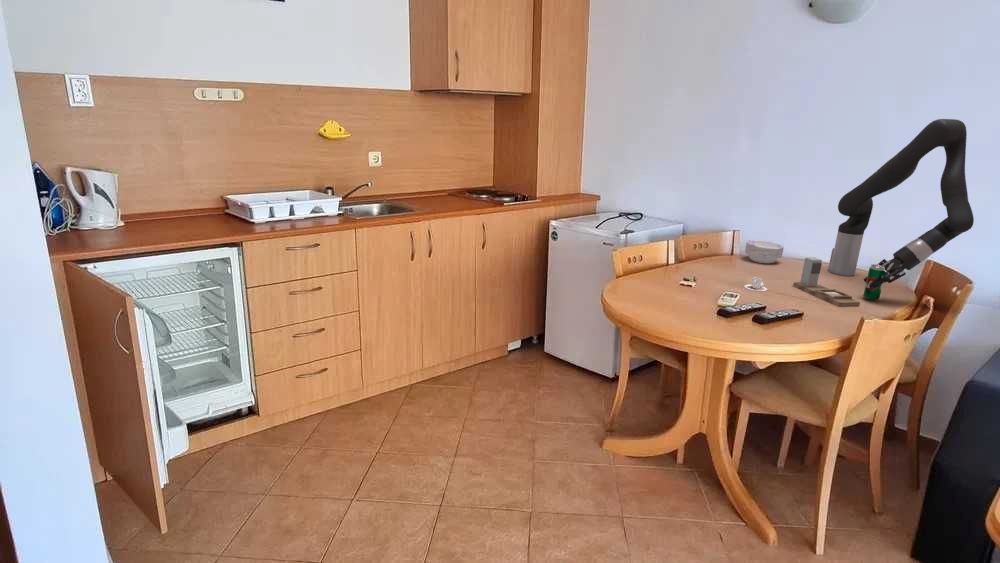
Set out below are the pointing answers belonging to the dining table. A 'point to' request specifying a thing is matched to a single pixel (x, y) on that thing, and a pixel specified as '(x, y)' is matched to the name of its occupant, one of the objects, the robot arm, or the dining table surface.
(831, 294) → the brown flat tray
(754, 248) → the paper bowls
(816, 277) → the grey post
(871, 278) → the soda can
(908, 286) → the dining table surface
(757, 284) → the teacup and saucer
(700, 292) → the dining table surface
